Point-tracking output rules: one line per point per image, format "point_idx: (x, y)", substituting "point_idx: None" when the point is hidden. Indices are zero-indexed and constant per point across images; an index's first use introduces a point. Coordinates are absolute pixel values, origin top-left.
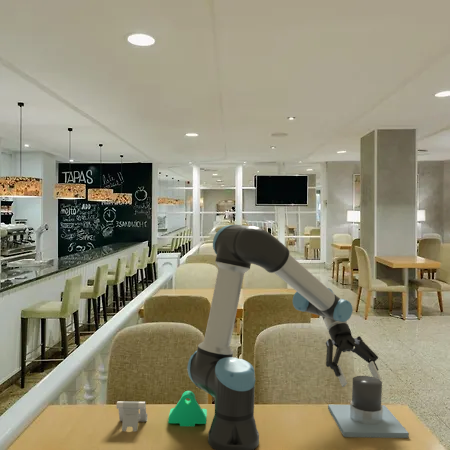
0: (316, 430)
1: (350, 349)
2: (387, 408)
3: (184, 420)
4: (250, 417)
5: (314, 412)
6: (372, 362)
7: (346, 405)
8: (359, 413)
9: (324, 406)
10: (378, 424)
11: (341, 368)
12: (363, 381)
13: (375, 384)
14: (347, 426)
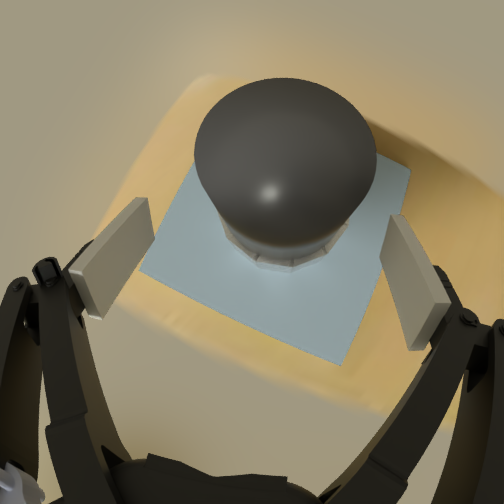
0: (454, 239)
1: (182, 465)
2: (150, 246)
3: None
4: None
5: (399, 351)
6: (82, 263)
7: (278, 331)
8: None
9: (335, 383)
10: None
11: (424, 278)
12: (318, 143)
13: (279, 90)
14: (384, 191)
